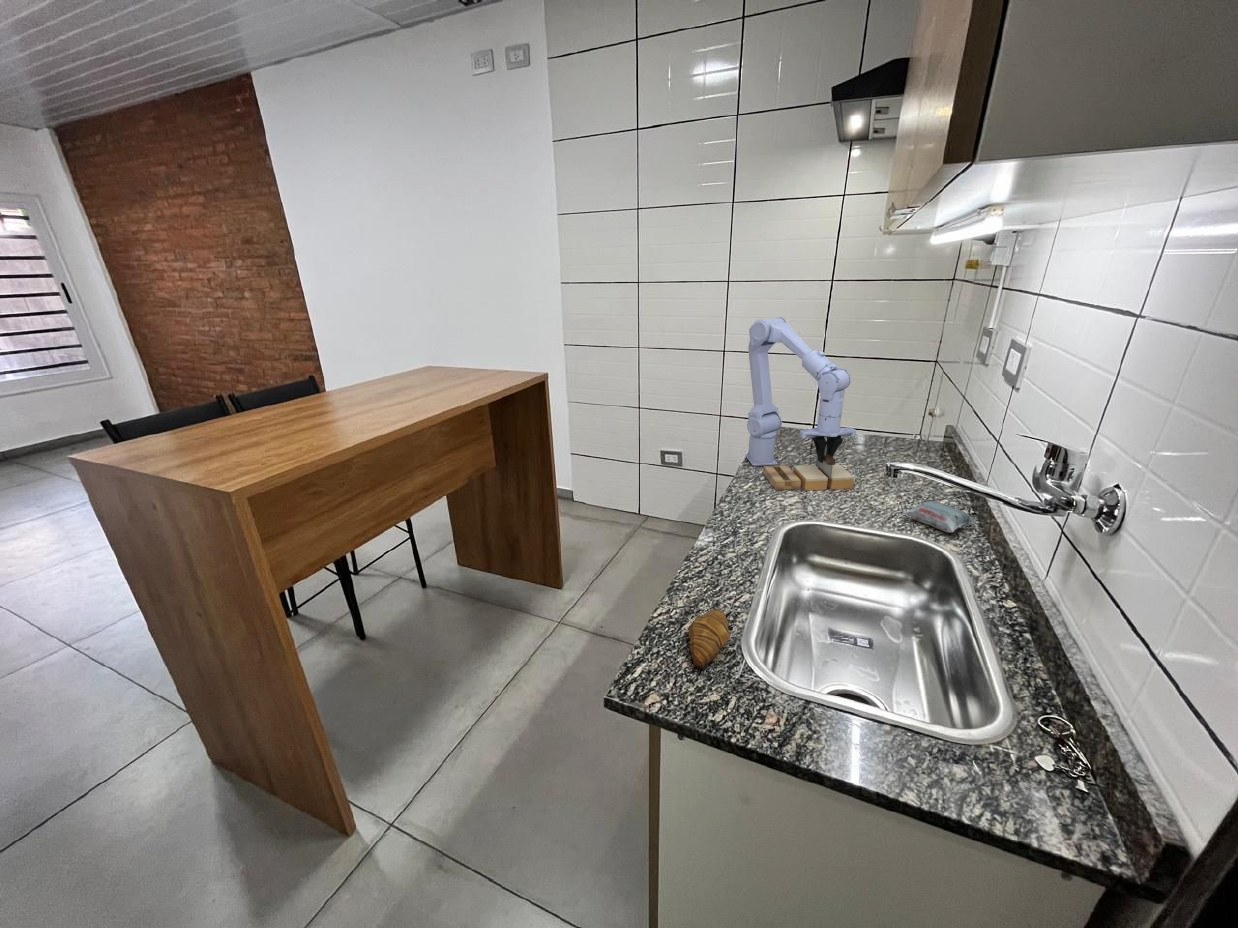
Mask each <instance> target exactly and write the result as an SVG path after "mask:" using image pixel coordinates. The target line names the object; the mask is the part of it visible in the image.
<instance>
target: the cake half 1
mask: <svg viewBox="0 0 1238 928" xmlns="http://www.w3.org/2000/svg"><path fill="white" fill-rule="evenodd" d="M792 471H793V473H794V474H795V475H796V476H797V477H798V478H799V479H800V480H801V488H802V489H803V490H804V491H825V490H827V489H828V488H827V487H828V486H827V482H828V478H827V477H826V476H825V475H824V474H823V473H822V472H821V471H820V470H819V469H818V467H817V466H816V464H800V465H798V464H797V465H793V468H792Z"/></svg>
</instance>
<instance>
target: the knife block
mask: <svg viewBox="0 0 1238 928" xmlns="http://www.w3.org/2000/svg"><path fill="white" fill-rule="evenodd" d="M762 466H763V467H762V474H763V476H764V477H765V478H766V480H767V481H768V482H769V484H770V485H771V486H772V488H773V489H774V491H785V490H786V491H787V490H801V488H802V486H801V480H800V479H799V478H798V477H797V476H796V475H795V474H794V473H793V469H791V468H790V467H789V466H788V465H787V464H781V465H780V464H779V465H762Z"/></svg>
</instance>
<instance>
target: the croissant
mask: <svg viewBox="0 0 1238 928" xmlns="http://www.w3.org/2000/svg"><path fill="white" fill-rule="evenodd" d="M729 626H730V623H729V621H728V619H727V617H726V613H725V612H724V611H723V610H722V609H710V610H709V611H707V612H705V613H703V614H698V615H697V616H696V617H695V619H694V620H693V621H692V622H691V624H690V625H689V626H688V638H689V642H688V647H689V651H690V655H691V659H692V662H693V666H694V668H697V669H699V670H700V669H701V670H702V669H704V668H705V667H707V666H708V665H709V664H710V663H711V662H712V661H713V660H714V659H715V658H716V657H717V655H718V654H719V652H720V650H722V648H723V647H724V646H725V645H726V644H727V642H728V641H729V639H730V638H731V637H730V629H729Z"/></svg>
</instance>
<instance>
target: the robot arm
mask: <svg viewBox="0 0 1238 928" xmlns="http://www.w3.org/2000/svg"><path fill="white" fill-rule="evenodd" d="M748 333H749V341H748V347H747V349H748V361H749V370H750V378H751V379H750V382H751V389H752V401H753V405H752V408H751V409H750V410H749V411H748V414H747V416H748V419H747V423H746V427H747V431H748V433H749V435H750V436H749V437H748V438H749V439H748V452H747V453H745V455H744V456H745V457H746V459H747V460H748V462H749V463H750V464H751V466H752V467H753V466H754V467H755V466H757V467H758V466H760V467H761V466H776V465H778V464H779V463H778V462H777V461H776V459H775V447H776V437H777V436H776V435H777V434H778V431H779V430H780V429H781V428H782V425H783V419H782V417H781V416H780V415H781V414H780V412H779V407H777V406H776V405H775V404H774V403H773V395H772V385H771V384H772V383H771V374H770V362H769V353H768V352H769V351H770V350H771V348H773V346H774V345H775V344H777V343H780V344H782V345H784V346H785V347H786V348H787V349H789V350H790V352H792V353H793V354H795V356H796V357H798V358H799V359H801V367H802V368H803V369H804V370H805V371H806V372H807V373H809V375H810V376H811V377H812V378H813V379H814V380H816V381H817V383H816V384H817V388H818V390H819V397H820V398H819V399H820V400H819V407H818V408H819V409H818V416H817V417H818V418H817V425H816V427H813V428H807V429H800V431H799V437H800V438H801V439H802V440H806V439H812V441H813V443H814V446H815V450H817V454H816V457H817V456H818V461H819V462H820V463H823V461H824V453H825V451H826V452H827V453H828V454H830V455H831V456H832V457H833V458H834V456H835V453H836V452H837V450H838V449H839V448H840V446H841V445H842V444H843V441H844V439H843V437H851V438H855V437H856V433H857V430H856V429H855V428H854V427H841V421H842V414H843V407H844V401H845V394H846V393H845V392H846V389H848V388H849V386H850V385H851V381H852V379H851V374H850V373H849V371H848V370H847V369H845V368H843V367H838V365H837V364H836V363H833V362H831V361H830V360H829V358H827V357H826V353H825V352H824V351H820V350H818V349H814V350H813V349H811V348H810V347H809V345H807V343H806V342H805V341H804V340H803V339H802V338H801V337H800V335H798V334H797V332H796V331H794V329H793V326H792V324H791V323H790V322H789V321H787V319H786V318H785V317H782V316H778V317H774V318H766V319H761V318H760V319H757V320H755V321H754V322H753V324H752V325H751V326H750V327H749V329H748ZM778 466H779V465H778Z"/></svg>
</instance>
